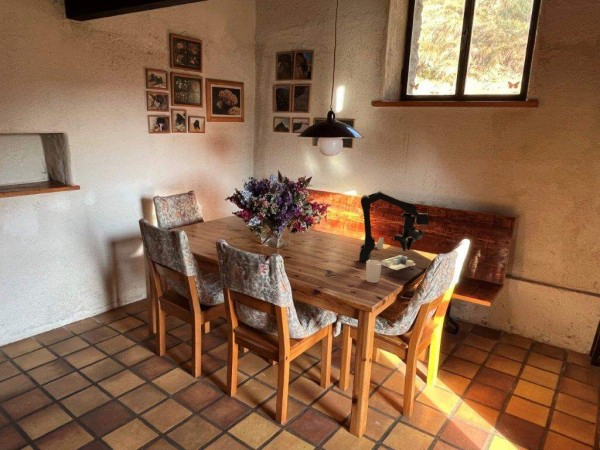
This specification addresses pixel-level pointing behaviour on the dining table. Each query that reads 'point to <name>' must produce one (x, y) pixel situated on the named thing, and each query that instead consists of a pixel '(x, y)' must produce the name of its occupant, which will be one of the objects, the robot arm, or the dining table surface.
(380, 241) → the architectural model
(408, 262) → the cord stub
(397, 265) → the backplate with stepped blocks
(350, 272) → the dining table surface
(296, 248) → the dining table surface
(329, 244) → the dining table surface
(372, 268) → the white cup
